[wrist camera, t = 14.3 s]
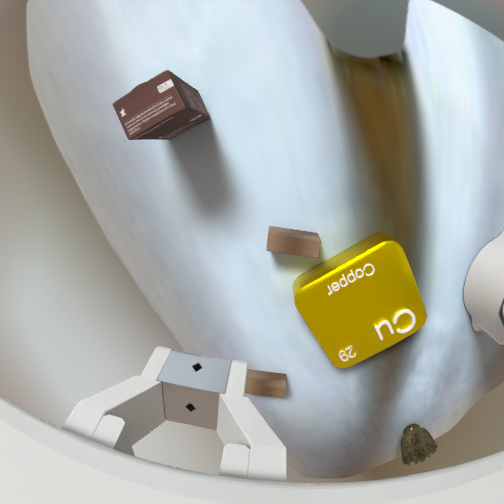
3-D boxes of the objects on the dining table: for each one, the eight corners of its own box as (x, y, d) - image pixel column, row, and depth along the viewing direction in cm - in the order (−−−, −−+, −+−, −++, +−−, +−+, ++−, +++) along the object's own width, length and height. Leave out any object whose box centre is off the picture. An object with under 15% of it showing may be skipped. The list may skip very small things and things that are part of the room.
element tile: (385, 225, 37) (398, 235, 32) (419, 309, 41) (431, 326, 36) (286, 280, 40) (288, 297, 36) (334, 355, 44) (338, 376, 40)
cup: (432, 415, 48) (444, 442, 40) (416, 436, 50) (426, 462, 43) (403, 417, 48) (414, 447, 41) (389, 439, 51) (397, 467, 43)
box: (170, 142, 35) (126, 142, 24) (156, 111, 34) (108, 100, 22) (213, 120, 34) (185, 108, 22) (199, 88, 33) (165, 65, 21)
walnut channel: (317, 233, 37) (321, 241, 34) (283, 382, 46) (283, 397, 43) (269, 226, 38) (269, 233, 34) (246, 378, 46) (244, 393, 43)
